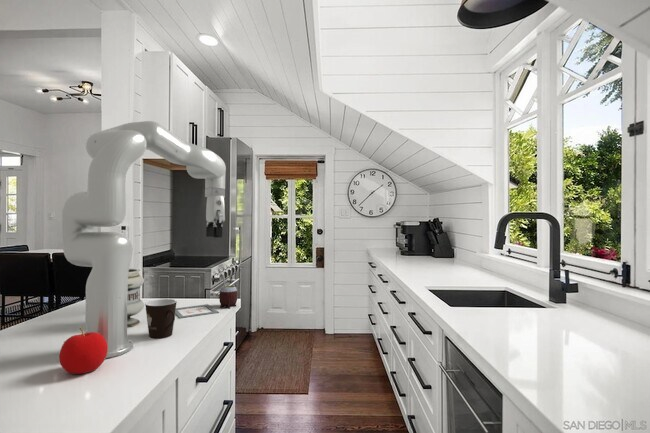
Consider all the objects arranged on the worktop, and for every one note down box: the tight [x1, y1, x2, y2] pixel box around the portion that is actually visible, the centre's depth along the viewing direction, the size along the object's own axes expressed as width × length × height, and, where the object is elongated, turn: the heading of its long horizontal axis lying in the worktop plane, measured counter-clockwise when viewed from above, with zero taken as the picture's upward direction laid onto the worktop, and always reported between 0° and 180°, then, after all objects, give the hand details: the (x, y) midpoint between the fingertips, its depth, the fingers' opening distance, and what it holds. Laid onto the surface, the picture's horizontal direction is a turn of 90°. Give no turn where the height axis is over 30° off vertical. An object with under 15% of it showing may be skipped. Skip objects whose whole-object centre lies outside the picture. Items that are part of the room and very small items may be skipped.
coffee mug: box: [144, 298, 178, 340], centre depth 105 cm, size 12×9×10 cm
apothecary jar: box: [127, 267, 145, 328], centre depth 117 cm, size 12×12×18 cm
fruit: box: [58, 326, 108, 375], centre depth 82 cm, size 9×9×10 cm
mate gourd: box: [218, 271, 238, 310], centre depth 140 cm, size 8×8×15 cm
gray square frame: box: [175, 303, 220, 319], centre depth 134 cm, size 14×14×1 cm
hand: (213, 236), depth 138 cm, fingers open, 9 cm apart
